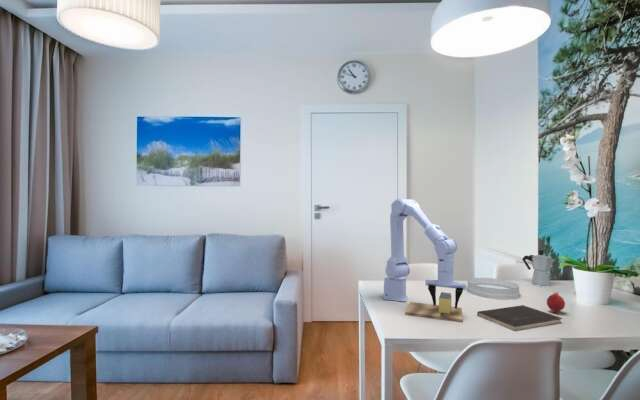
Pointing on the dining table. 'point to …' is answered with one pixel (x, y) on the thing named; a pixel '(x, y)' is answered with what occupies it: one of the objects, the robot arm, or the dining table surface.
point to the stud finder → (445, 302)
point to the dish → (493, 288)
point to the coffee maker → (540, 268)
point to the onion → (555, 302)
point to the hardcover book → (519, 317)
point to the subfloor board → (433, 312)
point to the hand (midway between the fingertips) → (445, 306)
